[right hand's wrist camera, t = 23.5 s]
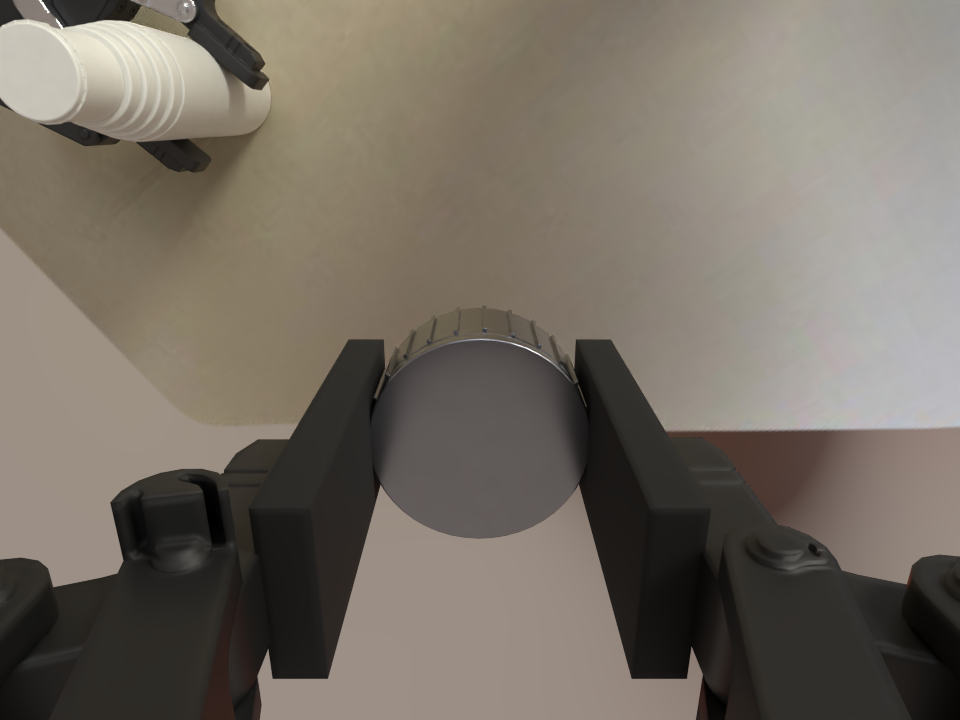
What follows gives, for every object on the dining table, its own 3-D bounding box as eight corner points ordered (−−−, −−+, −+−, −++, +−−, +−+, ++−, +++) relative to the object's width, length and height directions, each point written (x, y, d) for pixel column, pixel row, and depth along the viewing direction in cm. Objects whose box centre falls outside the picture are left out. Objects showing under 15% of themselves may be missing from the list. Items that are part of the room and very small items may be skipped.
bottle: (274, 59, 39) (104, 10, 21) (267, 142, 40) (105, 160, 23) (193, 42, 38) (-47, -23, 21) (190, 126, 40) (-36, 132, 23)
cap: (481, 260, 13) (481, 286, 11) (619, 401, 14) (641, 446, 12) (339, 398, 14) (317, 443, 12) (478, 518, 16) (478, 578, 14)
